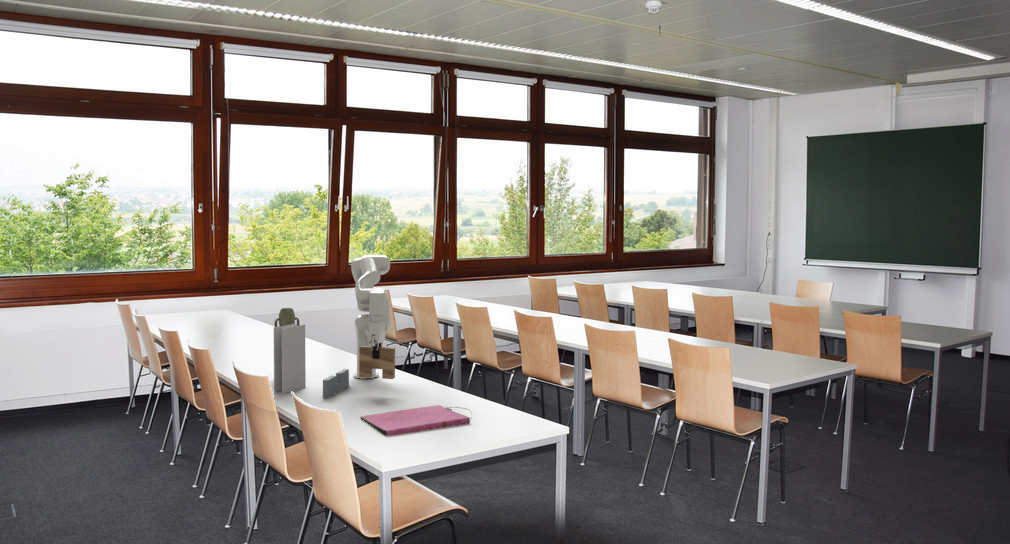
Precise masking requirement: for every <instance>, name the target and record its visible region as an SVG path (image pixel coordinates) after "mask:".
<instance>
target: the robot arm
mask: <svg viewBox="0 0 1010 544" xmlns="http://www.w3.org/2000/svg"><path fill="white" fill-rule="evenodd" d="M350 265H351V267H350V268H351V269H350V270H351V274H352V276H353V280H354V282H355V288H354V290H355V291H354V292H355V299H356V305H357V309H358V311H359V312H363V313H365V314H360V315H357V316H356V317H355V319H354V327H355V334H356V372H355V373H354V374H353V377H354V378H355V379H358V378H360V380H367V379H366V378H368V377H359V353H360V346H371V347H372V358H373V359H379V347H383V344H384V341H385V340H386V333H388V332H389V331H390V329H391V313H390V312H391V311H390V299H389V297H388V292H387V291H386V289H384V288H374V286H375V285H377V284H378V283H379V282H380V280H381V275H385V274H387V273H389V271H390V268H391V262H390V258H389V257H388V256H387V255H386V254H385V255H384V254H368V255H367V254H366V255H364V256H362V257H358V258H355V259H353V260H352V261H351V264H350ZM366 313H367V314H366ZM379 376H380V374H379V373H378V372H377V369H372V376H371V377H370V378H372V379H376V378H375V377H377V378H379Z"/></svg>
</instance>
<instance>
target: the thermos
mask: <svg viewBox="0 0 1010 544" xmlns="http://www.w3.org/2000/svg"><path fill="white" fill-rule="evenodd" d="M292 324H297V326H300V319H299V318H298V317H296V314H295V310H294V309H293V308H291V307H283V308H281V309H280V310H279V314H278V318H276V319H275V320H274V327H279V326H285V325H292ZM278 325H279V326H278Z"/></svg>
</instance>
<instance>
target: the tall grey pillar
mask: <svg viewBox="0 0 1010 544" xmlns="http://www.w3.org/2000/svg"><path fill="white" fill-rule="evenodd" d="M306 374H307V373H306V324H301V325H300V324H299V326H297V323H295V324H292V325H285V326H277V327H275V326H273V392H274V393H277V392H280V391H281V394H282V393H283V394H286V392H287V393H290V392H293V391H299V390H302V389H306V382H307V381H306V376H307V375H306ZM291 390H293V391H291ZM276 391H277V392H276Z"/></svg>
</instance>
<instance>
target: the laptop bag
mask: <svg viewBox="0 0 1010 544" xmlns="http://www.w3.org/2000/svg"><path fill="white" fill-rule="evenodd" d="M452 408H453V406H450V407H445V406H442V405H440V404H439V405H431V406H430V405H429V406H422V407H416V408H410V409H409V408H408V409H401V410H395V411H388V412H382V413H381V412H379V413H375V414H369V415H364V416H360V417H359V419H360V418H361V419H362V420H361V419H360V420H361V421H363V420H364V421H365V422H364V421H363V422H364V423H366V422H367V423H368V424H367V423H366V424H367V425H369V424H370V425H371V426H370V425H369V426H370V427H372V426H373V427H374V428H373V427H372V428H373V429H374V430H376V429H377V430H376V431H377V432H379V431H380V432H379V433H380V434H382V435H384V436H385V435H386V437H388V435H389V436H394V435H401V434H407V433H415V431H416V432H422V431H421V430H423V431H428V430H427V429H429V430H433V428H436V429H440V427H442V428H446V426H449V427H454V426H453V425H455V426H460V425H459V424H461V425H466V424H465V423H467V424H469V423H470V422H471V420H470V419H471V417H468V416H467V415H463V414H461V413H459V412H456V411H454V410H453V409H452ZM455 408H457V409H461V407H460V406H459V407H458V406H455ZM463 409H464V410H465V409H466V410H468V411H470V408H469V409H468V408H466V407H465V408H464V407H463ZM470 413H471V414H473V413H472V411H470Z"/></svg>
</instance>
